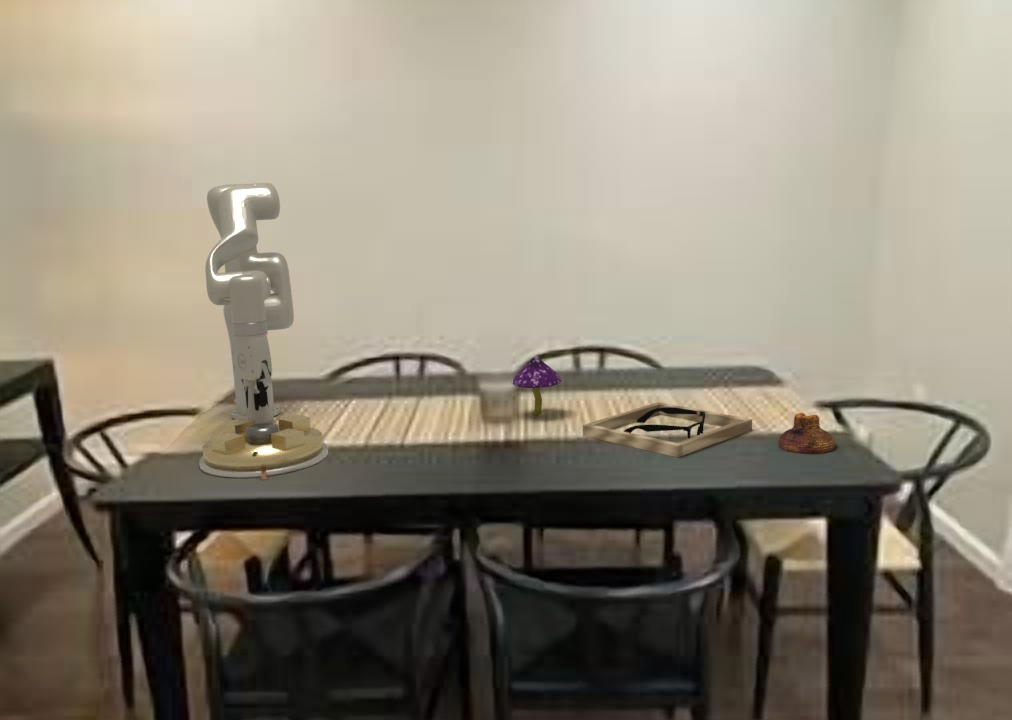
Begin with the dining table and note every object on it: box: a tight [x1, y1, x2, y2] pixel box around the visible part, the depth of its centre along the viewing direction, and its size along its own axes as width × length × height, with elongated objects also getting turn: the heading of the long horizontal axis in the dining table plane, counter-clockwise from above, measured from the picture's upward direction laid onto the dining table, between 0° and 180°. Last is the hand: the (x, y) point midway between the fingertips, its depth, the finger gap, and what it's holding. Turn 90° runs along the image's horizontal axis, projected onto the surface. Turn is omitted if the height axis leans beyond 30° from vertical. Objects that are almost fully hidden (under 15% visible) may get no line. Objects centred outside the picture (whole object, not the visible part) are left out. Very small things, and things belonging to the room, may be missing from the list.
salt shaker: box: [244, 376, 275, 425], centre depth 231 cm, size 6×6×13 cm
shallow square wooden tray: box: [582, 401, 753, 458], centre depth 230 cm, size 27×27×2 cm
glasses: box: [623, 407, 705, 439], centre depth 230 cm, size 17×18×5 cm
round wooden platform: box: [202, 414, 324, 471], centre depth 224 cm, size 26×26×6 cm
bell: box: [777, 412, 836, 455], centre depth 214 cm, size 12×12×7 cm
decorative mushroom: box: [512, 356, 563, 416], centre depth 249 cm, size 12×12×15 cm
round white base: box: [198, 442, 329, 481], centre depth 225 cm, size 28×28×1 cm
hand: (257, 407), depth 231 cm, fingers closed on salt shaker, 3 cm apart
